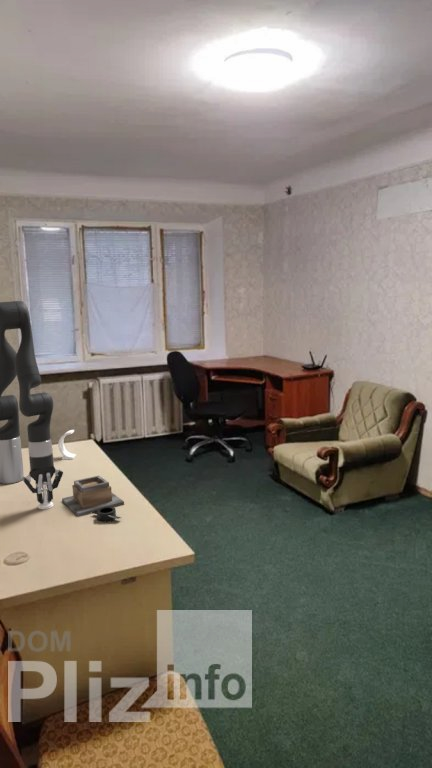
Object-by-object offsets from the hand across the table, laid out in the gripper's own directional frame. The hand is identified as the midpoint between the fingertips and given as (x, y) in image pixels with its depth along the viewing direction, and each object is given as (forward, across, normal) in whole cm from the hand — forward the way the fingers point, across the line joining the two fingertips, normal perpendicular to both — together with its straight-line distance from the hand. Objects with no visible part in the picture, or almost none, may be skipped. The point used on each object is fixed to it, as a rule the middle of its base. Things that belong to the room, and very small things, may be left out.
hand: (45, 501), depth 181 cm
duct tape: (+2, -13, +22) cm, 26 cm away
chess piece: (+2, 0, 0) cm, 2 cm away
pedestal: (+2, -14, +7) cm, 16 cm away
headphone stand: (+2, -24, -49) cm, 55 cm away
